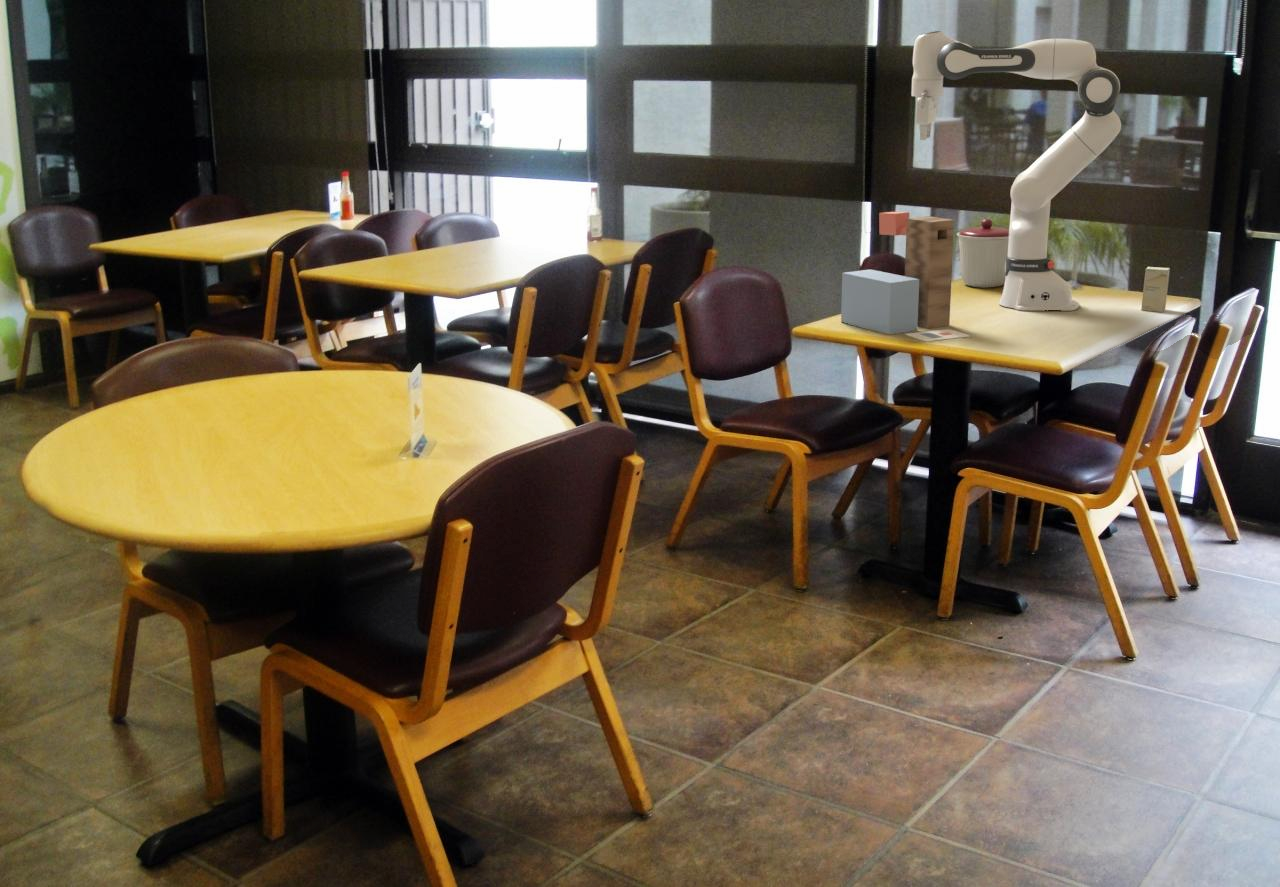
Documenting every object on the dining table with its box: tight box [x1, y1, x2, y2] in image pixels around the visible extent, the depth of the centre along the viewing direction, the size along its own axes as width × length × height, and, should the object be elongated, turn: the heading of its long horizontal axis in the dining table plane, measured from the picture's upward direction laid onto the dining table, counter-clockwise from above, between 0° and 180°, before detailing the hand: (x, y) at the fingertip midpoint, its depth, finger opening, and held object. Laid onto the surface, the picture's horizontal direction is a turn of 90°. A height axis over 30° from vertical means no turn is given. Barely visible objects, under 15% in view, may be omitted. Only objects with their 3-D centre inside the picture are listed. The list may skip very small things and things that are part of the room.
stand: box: [904, 215, 955, 329], centre depth 377 cm, size 10×8×29 cm
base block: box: [840, 269, 919, 335], centre depth 378 cm, size 20×10×14 cm, turn 30°
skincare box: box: [1140, 266, 1171, 313], centre depth 393 cm, size 6×4×12 cm
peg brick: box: [878, 211, 910, 236], centre depth 381 cm, size 19×5×6 cm, turn 30°
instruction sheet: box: [904, 328, 971, 342], centre depth 367 cm, size 10×14×1 cm
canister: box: [956, 218, 1009, 288], centre depth 436 cm, size 18×18×21 cm
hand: (925, 138), depth 401 cm, fingers open, 8 cm apart
